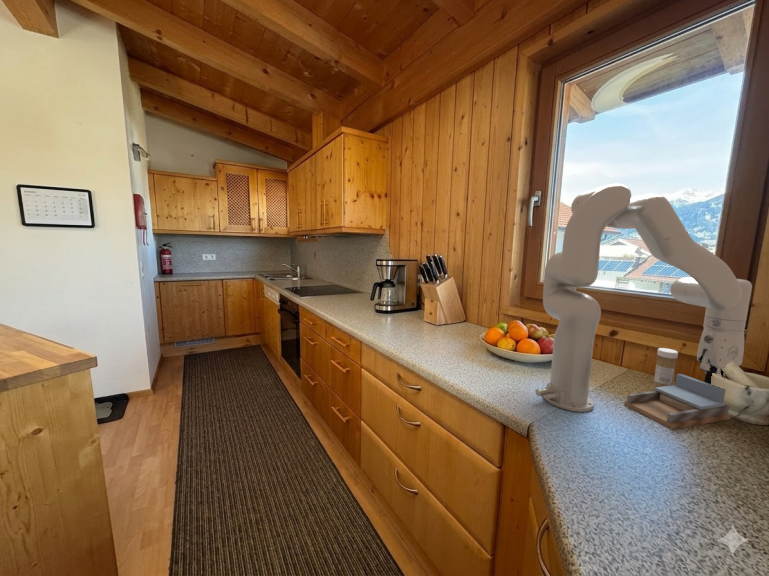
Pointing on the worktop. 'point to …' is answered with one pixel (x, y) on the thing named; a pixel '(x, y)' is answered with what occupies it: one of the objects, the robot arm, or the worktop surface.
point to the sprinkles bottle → (665, 367)
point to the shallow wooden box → (674, 410)
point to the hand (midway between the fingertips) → (712, 388)
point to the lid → (694, 392)
